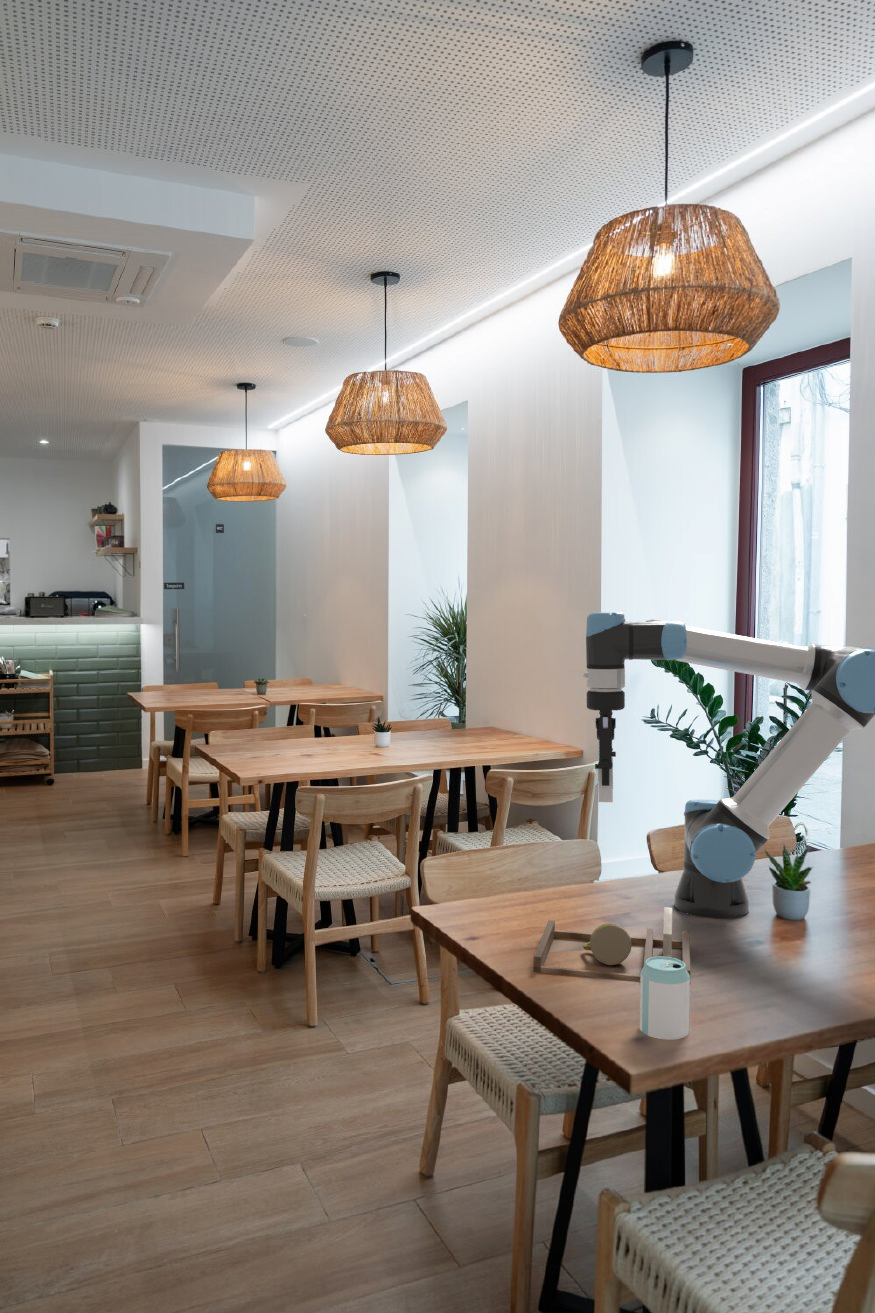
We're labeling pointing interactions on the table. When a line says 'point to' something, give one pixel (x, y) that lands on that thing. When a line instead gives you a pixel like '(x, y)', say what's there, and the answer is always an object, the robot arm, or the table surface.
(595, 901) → the table surface
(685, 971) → the can
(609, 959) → the mug
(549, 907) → the table surface
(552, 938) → the rack
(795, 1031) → the table surface
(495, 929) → the table surface
